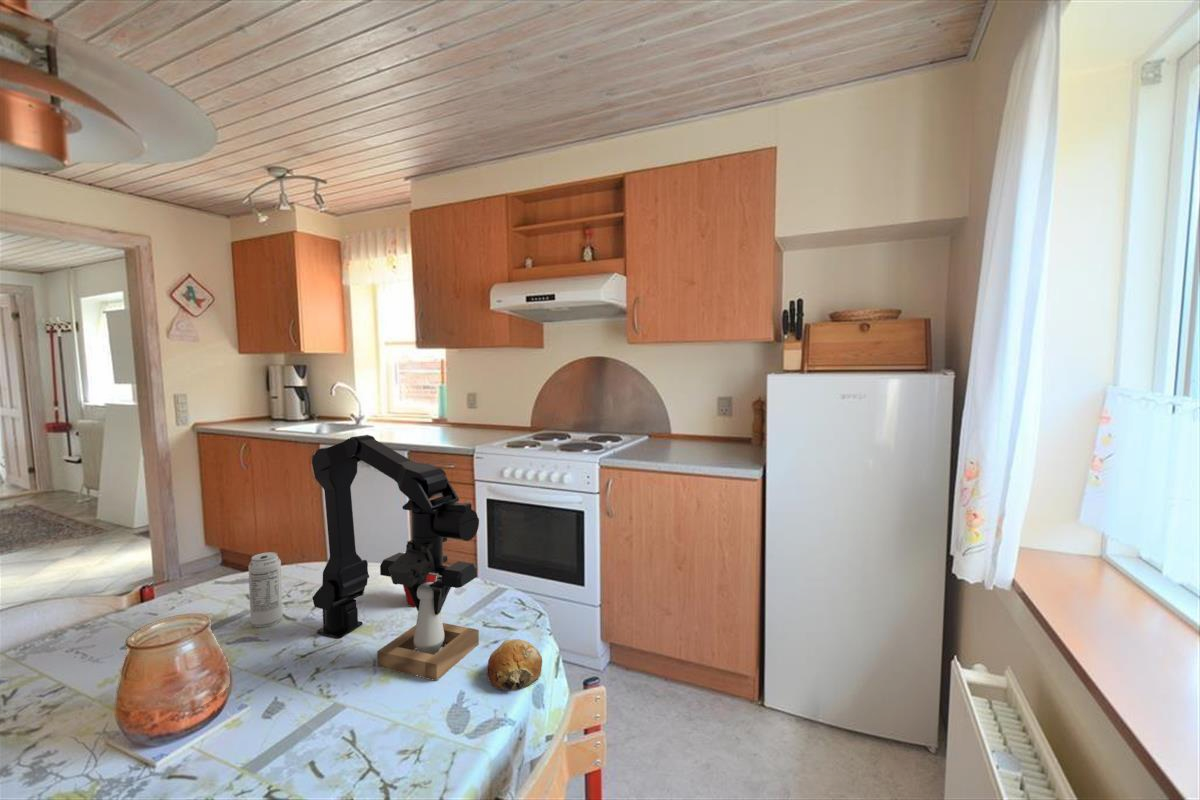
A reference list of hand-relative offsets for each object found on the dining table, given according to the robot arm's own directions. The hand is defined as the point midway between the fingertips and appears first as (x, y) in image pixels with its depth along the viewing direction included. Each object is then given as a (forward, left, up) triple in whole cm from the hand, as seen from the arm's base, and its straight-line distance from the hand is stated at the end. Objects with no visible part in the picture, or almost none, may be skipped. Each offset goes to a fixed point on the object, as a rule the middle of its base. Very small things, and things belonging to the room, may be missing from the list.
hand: (428, 612), depth 101 cm
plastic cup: (-18, +19, -9) cm, 28 cm away
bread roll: (+19, -1, -9) cm, 21 cm away
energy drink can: (-43, -1, -9) cm, 44 cm away
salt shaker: (0, 0, -8) cm, 8 cm away
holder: (0, 0, -9) cm, 9 cm away
